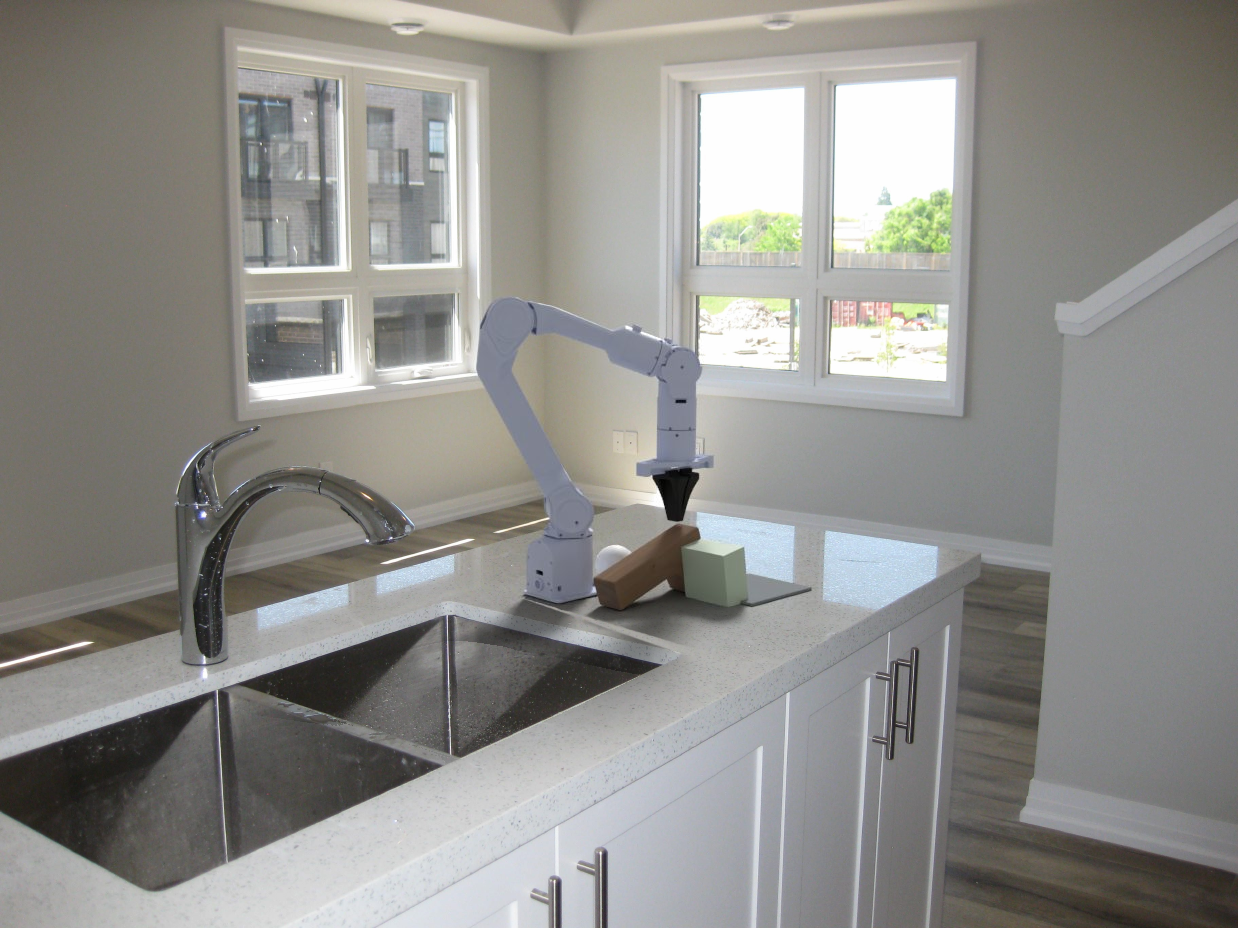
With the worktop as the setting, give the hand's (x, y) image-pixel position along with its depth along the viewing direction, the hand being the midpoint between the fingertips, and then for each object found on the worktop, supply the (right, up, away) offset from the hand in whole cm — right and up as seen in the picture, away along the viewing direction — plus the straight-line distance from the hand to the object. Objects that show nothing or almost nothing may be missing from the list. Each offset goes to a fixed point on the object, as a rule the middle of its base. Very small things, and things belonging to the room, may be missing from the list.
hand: (675, 520), depth 170 cm
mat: (+11, -10, +1) cm, 15 cm away
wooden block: (+3, -5, +1) cm, 6 cm away
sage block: (+6, -11, -4) cm, 13 cm away
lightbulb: (-3, -8, +11) cm, 14 cm away
